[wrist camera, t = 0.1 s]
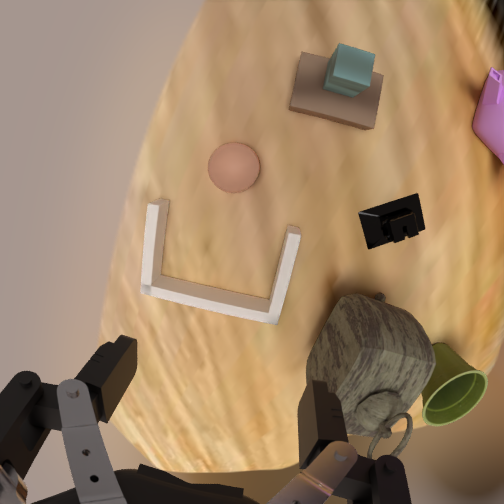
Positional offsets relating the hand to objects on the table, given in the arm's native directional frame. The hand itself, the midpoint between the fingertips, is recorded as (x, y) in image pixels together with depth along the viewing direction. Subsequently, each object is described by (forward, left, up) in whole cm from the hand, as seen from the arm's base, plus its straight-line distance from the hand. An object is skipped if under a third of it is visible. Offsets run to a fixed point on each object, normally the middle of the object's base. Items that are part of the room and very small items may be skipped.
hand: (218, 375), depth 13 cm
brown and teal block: (-19, +6, -29) cm, 35 cm away
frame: (+6, -4, -29) cm, 30 cm away
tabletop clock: (+11, +16, -29) cm, 35 cm away
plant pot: (+16, +35, -29) cm, 48 cm away
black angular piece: (-5, +18, -30) cm, 35 cm away
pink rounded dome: (-7, -4, -29) cm, 30 cm away
